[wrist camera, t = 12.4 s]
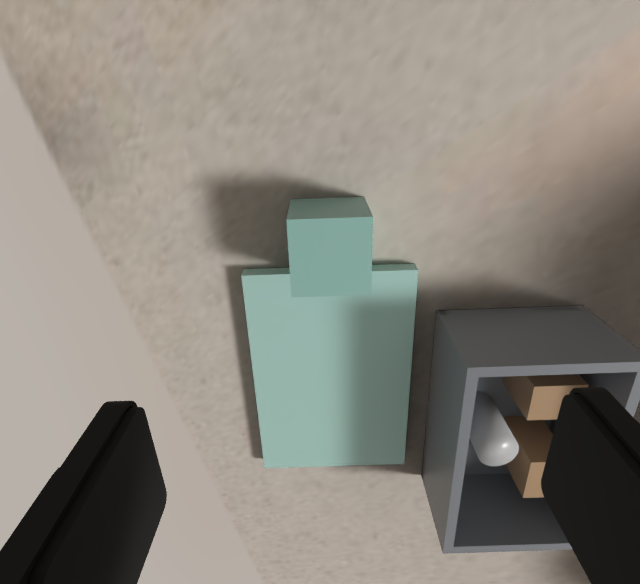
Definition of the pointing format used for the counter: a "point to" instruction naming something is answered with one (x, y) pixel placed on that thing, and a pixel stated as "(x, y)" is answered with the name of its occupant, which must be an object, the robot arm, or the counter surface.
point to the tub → (509, 417)
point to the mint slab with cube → (331, 342)
